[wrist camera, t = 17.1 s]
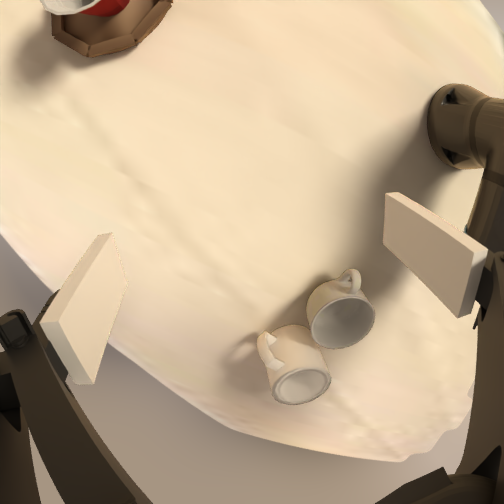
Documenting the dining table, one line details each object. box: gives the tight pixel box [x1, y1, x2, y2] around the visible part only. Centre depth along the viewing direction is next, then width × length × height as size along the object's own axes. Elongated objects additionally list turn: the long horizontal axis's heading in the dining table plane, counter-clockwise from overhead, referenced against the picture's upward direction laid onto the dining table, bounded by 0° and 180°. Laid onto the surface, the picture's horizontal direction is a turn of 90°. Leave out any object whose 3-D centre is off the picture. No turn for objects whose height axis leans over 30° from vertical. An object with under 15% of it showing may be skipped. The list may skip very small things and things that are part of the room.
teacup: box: [306, 269, 375, 349], centre depth 51 cm, size 14×11×8 cm
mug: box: [256, 325, 331, 405], centre depth 54 cm, size 14×10×11 cm
